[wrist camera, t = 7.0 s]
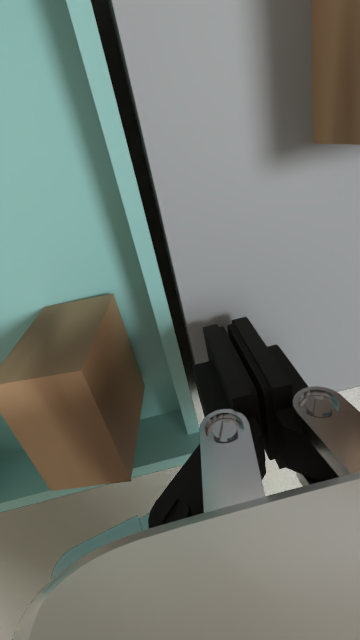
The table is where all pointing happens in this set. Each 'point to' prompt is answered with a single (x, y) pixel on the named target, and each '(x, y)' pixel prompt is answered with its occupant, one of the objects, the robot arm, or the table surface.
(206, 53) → the board
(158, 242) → the table surface
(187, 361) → the table surface
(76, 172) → the tray
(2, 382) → the brown angular block
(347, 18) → the wooden block
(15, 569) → the table surface
